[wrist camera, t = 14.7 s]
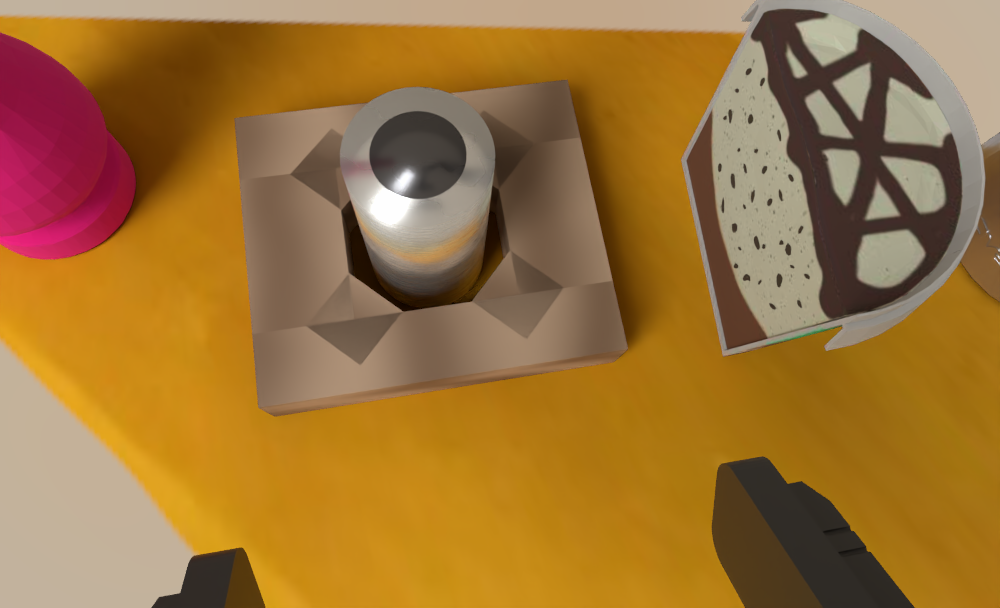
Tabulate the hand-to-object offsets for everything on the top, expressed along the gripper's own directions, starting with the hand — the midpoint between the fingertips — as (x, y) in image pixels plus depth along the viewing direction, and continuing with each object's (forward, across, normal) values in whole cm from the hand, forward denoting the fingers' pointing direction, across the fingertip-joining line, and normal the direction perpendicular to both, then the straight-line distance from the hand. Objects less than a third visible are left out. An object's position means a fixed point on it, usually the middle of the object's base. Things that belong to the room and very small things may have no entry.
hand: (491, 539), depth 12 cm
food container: (+18, -15, +5) cm, 24 cm away
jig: (+20, 0, +4) cm, 20 cm away
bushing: (+20, 0, +4) cm, 20 cm away
